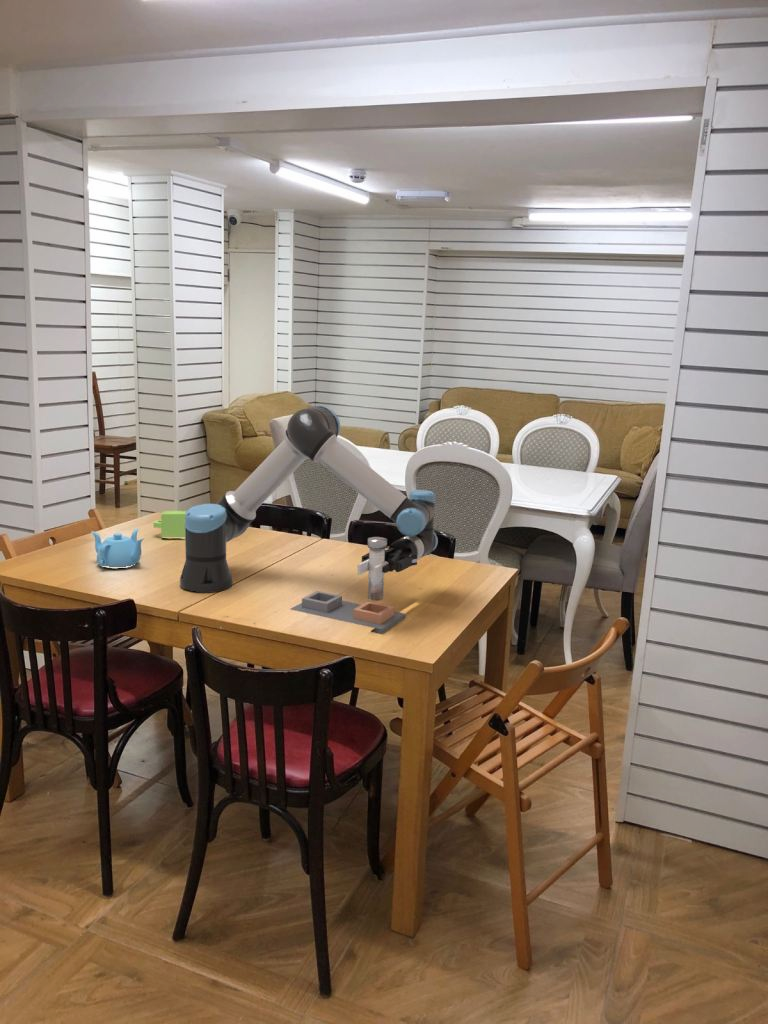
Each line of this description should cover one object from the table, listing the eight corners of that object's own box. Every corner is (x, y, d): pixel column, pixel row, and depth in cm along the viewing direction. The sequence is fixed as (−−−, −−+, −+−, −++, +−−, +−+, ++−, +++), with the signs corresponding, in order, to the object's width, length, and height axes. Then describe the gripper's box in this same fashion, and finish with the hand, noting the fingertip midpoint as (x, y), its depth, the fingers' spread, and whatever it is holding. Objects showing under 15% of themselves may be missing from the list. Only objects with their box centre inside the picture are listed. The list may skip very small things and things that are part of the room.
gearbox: (204, 534, 292) (205, 509, 290) (204, 539, 282) (204, 514, 281) (154, 534, 288) (154, 508, 286) (152, 539, 278) (152, 513, 277)
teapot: (95, 573, 238) (94, 541, 236) (91, 560, 251) (90, 529, 249) (145, 569, 244) (144, 538, 242) (139, 556, 257) (138, 526, 255)
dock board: (289, 613, 210) (289, 600, 209) (316, 599, 222) (316, 586, 222) (381, 633, 198) (382, 620, 197) (405, 617, 210) (405, 604, 209)
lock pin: (362, 599, 204) (364, 539, 201) (371, 593, 209) (373, 536, 205) (379, 602, 202) (381, 542, 199) (388, 597, 206) (390, 538, 203)
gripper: (433, 568, 216) (396, 590, 196) (378, 559, 224) (337, 579, 203) (434, 542, 215) (397, 562, 194) (379, 533, 222) (338, 551, 202)
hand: (366, 571), depth 199 cm, fingers closed on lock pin, 4 cm apart
